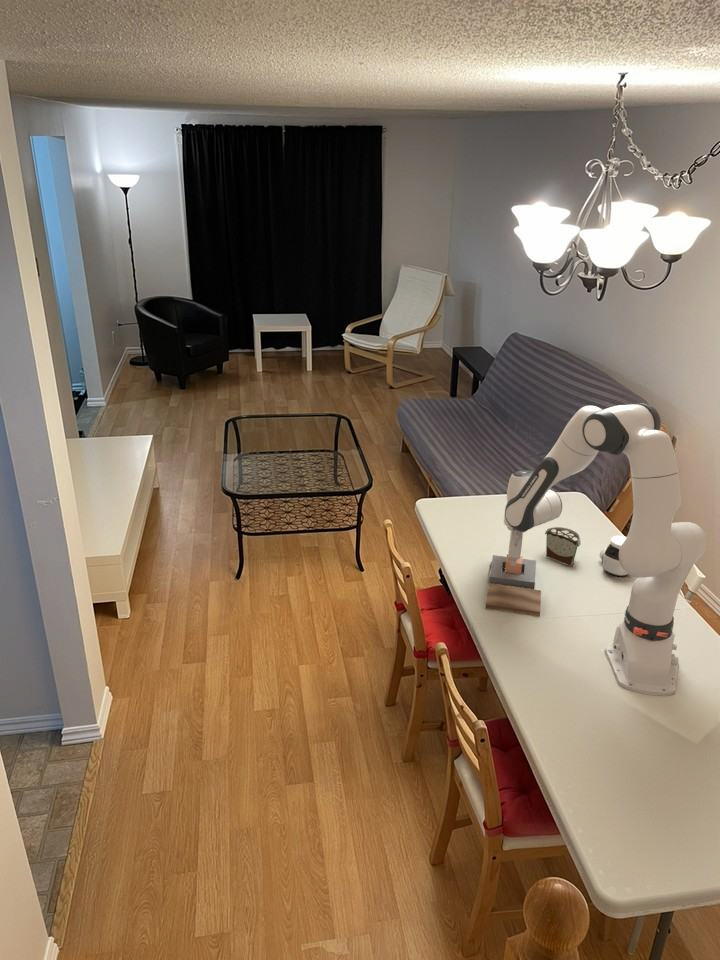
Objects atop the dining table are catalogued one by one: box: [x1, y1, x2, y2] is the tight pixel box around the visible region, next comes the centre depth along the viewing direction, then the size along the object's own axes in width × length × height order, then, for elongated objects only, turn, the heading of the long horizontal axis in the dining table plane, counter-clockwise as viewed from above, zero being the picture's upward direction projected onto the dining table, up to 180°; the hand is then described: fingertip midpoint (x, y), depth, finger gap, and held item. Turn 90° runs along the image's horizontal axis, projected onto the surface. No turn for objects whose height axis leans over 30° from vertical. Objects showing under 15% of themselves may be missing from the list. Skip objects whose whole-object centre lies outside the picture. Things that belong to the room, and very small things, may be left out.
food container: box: [544, 526, 582, 567], centre depth 246 cm, size 12×6×10 cm, turn 47°
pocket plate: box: [488, 554, 537, 590], centre depth 237 cm, size 14×14×2 cm
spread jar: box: [599, 535, 629, 578], centre depth 240 cm, size 12×11×12 cm
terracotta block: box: [504, 554, 524, 575], centre depth 237 cm, size 5×5×6 cm
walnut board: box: [484, 582, 542, 617], centre depth 223 cm, size 12×16×2 cm
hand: (513, 557), depth 235 cm, fingers open, 8 cm apart
